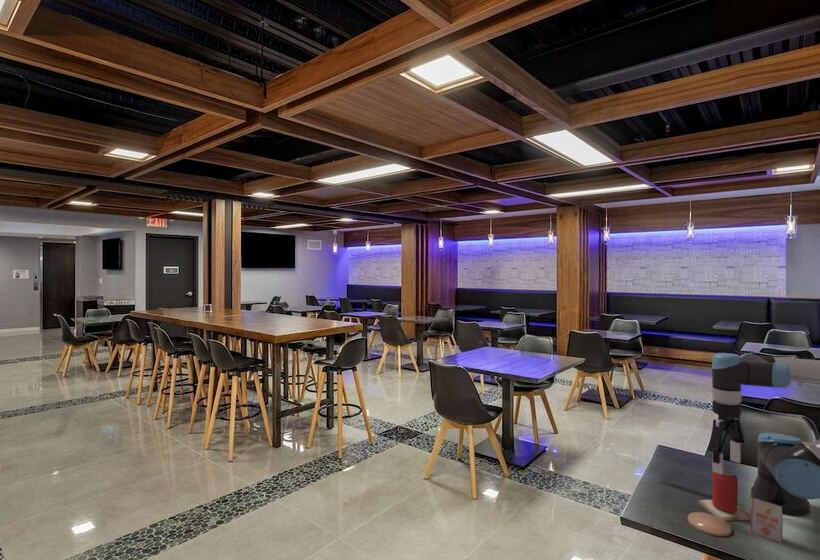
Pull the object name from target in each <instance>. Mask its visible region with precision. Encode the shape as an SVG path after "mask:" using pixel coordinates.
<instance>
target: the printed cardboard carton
mask: <svg viewBox="0 0 820 560" xmlns="http://www.w3.org/2000/svg"><path fill="white" fill-rule="evenodd" d="M751 499H752V500H751V509H750V514H751V520H750V534H753V535H755V536H757V537H761V538H762V539H763V538H764V539H766V540H769V541H771V542H773V543H777V544H779V543H780V544H781V543H782V541H783V533H784V532H783V531H784V530H783V529H784V528H783V527H784V524H783V523H784V517H783V516H784V514H783V513H782V507H781V506H778V505H775V504H771V503H768V502H765V501H762V500H759V499H756V498H751Z"/></svg>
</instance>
